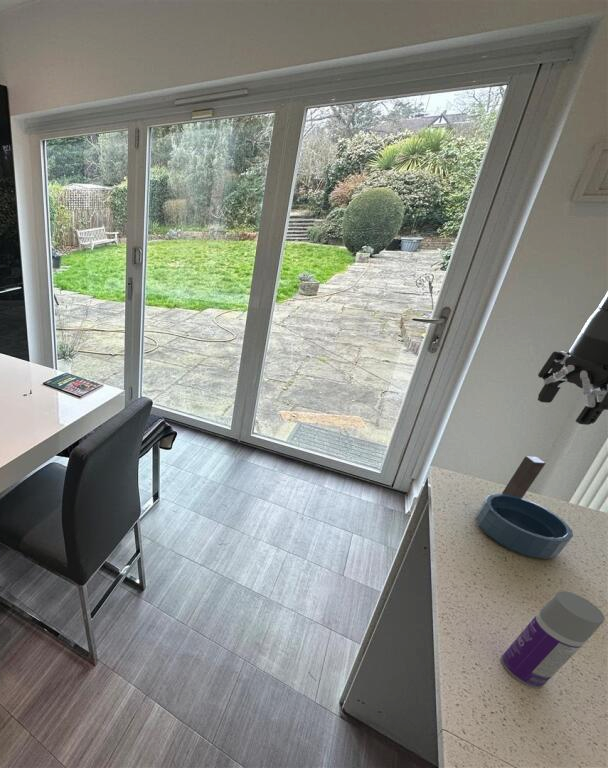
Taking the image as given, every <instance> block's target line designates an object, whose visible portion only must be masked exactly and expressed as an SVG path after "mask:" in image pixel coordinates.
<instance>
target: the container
mask: <svg viewBox="0 0 608 768" xmlns="http://www.w3.org/2000/svg"><path fill="white" fill-rule="evenodd" d="M605 620H606V619H605V616H604V614H603V611H601V610H600V609H599V608H598V606H596V605H595V604H593V603H592V602H591V601H590V600H588V599H586V598H585V597H582V596H580V595H578V594H576V593H573V592H570V591H566V590H565V591H564V590H560V591H559V590H558V591H557V592H556V593H555V594H554V595H553V596H552V597H551V598H550V599H549V601H548V602H547V603H546V604H545V605H544V606H543V607H542V608H541V609H540V610H539V612H538V613H536V615H534V617H533V618H532V619H531V621H530V622H529V623H528V624H527V625H526V627H525V628H524V629H523V630H522V631H521V632H520V634H519V635H518V636H517V637H516V638H515V639H514V640H513V642H512V643H511V644H510V646H509V647H508V648H507V649H506V650H505V652H504V653H503V654H502V655H501V657H500V662H501V665H502V666H503V669H505V670H506V673H508V674H509V676H511V677H512V678H513V679H514V680H516V681H518V682H519V683H521V684H522V685H524V686H527V687H529V688H533V689H540V688H542V687H543V686H544V685H545V684H546V683H547V682H548V681H549V680H550V679H551V678H552V677H554V675H555V674H556V673H557V672H558V671H559V670H560V669H561V668H562V667H563V666H564V665H565V664H566V663H567V662H568V661H569V660H570V659H571V658H572V657H574V655H576V653H577V652H578V651H579V650H580V649H581V648H582V647H583V646H584V644H585V643H587V642H588V640H589V639H590V638H591V637H592V635H593V634H595V632H596V631H597V630H598V629H599V628H600V626H602V624H603V623H604V622H605Z"/></svg>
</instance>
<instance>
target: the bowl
mask: <svg viewBox="0 0 608 768" xmlns="http://www.w3.org/2000/svg"><path fill="white" fill-rule="evenodd" d="M475 521H476V522H477V524H478V526H479V528H481V530H482V531H483V532H484V533H485V534H486V535H487V536H488V537H490V538H491V539H492V540H493V541H495V542H496V543H497V544H499V545H501V546H503V547H504V548H507V549H508V550H510V551H513V552H515V553H517V554H520V555H523V556H527V557H531V558H536V559H548V560H549V559H553V558H557V557H558V555H559V554H560V553H562V551H563V550H564V548H565V547H566V546H567V544H569V542H570V541H571V540H572V538H573V537H574V533H573V529H572V528H571V526H570V525H569V524H568V523H567V522H566V521H565V520H564V519H563V518H561V517H560V516H559V515H558V514H556V513H555V512H553V511H551V510H550V509H548V508H546V507H545V506H543V505H540V504H538V503H537V502H534V501H532V500H529V499H526V498H524V497H523V498H521V497H517V496H513V495H509V494H502V493H500V492H498V493H493V494H492V493H491V494H489V495H487V497H485V499H484V500H483V502H482V504H481V506H480V507H479V508H478V510H477V512H476V514H475Z"/></svg>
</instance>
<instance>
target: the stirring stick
mask: <svg viewBox="0 0 608 768" xmlns="http://www.w3.org/2000/svg"><path fill="white" fill-rule="evenodd" d="M545 465H546V462H545V461H543V460H542V459H541V458H539V457H538V456H529V455H525V456H524V458H523V459H522V461H521V463H520V464H519V466H518V467H517V469H516V470H515V472H514V474H513V475H512V477H511V478H510V480H509V481H508V483H507V485H506V486H505V488H504V489H503V490H502V492H501V494H509V495H513V496H517V497H521V498H524V497H525V495H526V493H527V492H528V490H529V489H530V488H531V486H532V485H533V483H534V481H535V480H536V479H537V477H538V476H539V474H540V472H541V471H542V469H543V468H544V467H545Z"/></svg>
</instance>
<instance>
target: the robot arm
mask: <svg viewBox="0 0 608 768" xmlns="http://www.w3.org/2000/svg"><path fill="white" fill-rule="evenodd" d="M537 374H538V375H537V376H538V378H541V379H542V380H543V387H542V388H541V390H540V391H539V393H538V396H537V397H538V398H537V401H539V402H540V403H547V404H549V403H552V402H553V401H554V398H555V397H556V395H557V394H558V393H559V391H560V389H561V385H564V384H566V383H569V384H574V385H575V386H576V387H578V388H580V389H582V391H583V394H584V396H586V402H587V405H585V406H584V407H583V409H582V410H581V412H580V413H579V414H578V416H577V418H576V419H575V422H576V423H577V424H579V425H584V426H590V425H591V424H595V423H596V421H597V420H598V419H599V418H600V416H601V415H602V413H603V412H604V411H605V410H607V411H608V291H607V292H606V294H605V295H604V297H603V299H602V300H601V302H600V304H599V305H598V307H597V308H596V310H595V311H594V312H593V313H592V314H591V315H590V317H589V318H588V319H587V321H586V323H585V324H584V326H583V328H582V329H581V331H580V332H579V334H578V335H577V338H576V339H575V341H574V343H573V344H572V346H571V347H570V349H569V351H552V353H551V355H550V356H549V357H548V359H547V360H546V361H545V363H544V365H543V366H542V368H541V369H540V371H539V372H538V373H537ZM597 389H599V390H597Z"/></svg>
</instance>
